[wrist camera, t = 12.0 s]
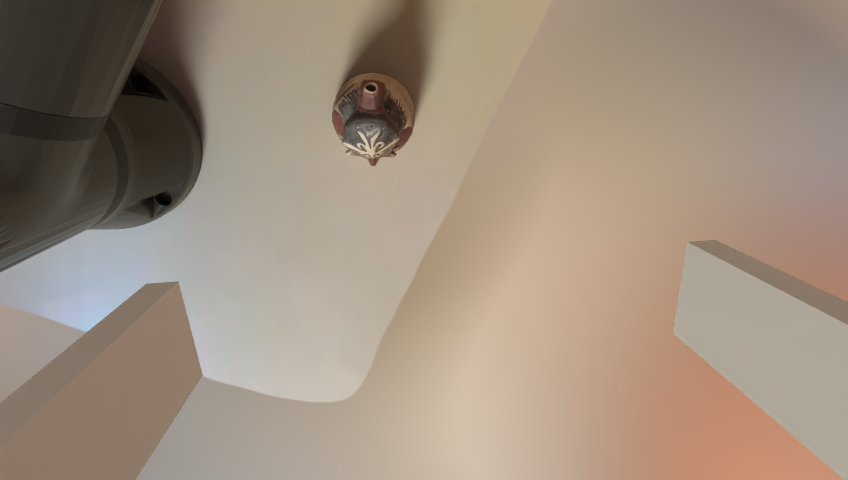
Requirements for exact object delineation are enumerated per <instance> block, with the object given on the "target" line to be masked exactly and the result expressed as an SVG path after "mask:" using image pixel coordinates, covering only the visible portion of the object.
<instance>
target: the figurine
mask: <svg viewBox="0 0 848 480" xmlns="http://www.w3.org/2000/svg"><path fill="white" fill-rule="evenodd" d="M414 119H415V111H414V105H413V102H412V99H411V97H410V95H409V93H408V92H407V90H406V89H405V87H404V86H403V85H401V84H400V83H399V82H398V81H397V80H396V79H394V78H391V77H389V76H387V75H384V74H378V73H366V74H360V75H358V76H356V77H354V78H351V79H349V80H348V81H347V82H346V83H345V84H344V85H343V86H342V88H341V89H340V91H339V92H338V94H337V96H336V99H335V102H334V104H333V113H332V121H333V125H334V128H335V131H336V133H337V135H338V136H339V138H340V139H341V140H342V144H343V146H344V147H346V148H348V149H349V150H347V151H346V154H347V155H349V156H360V157H364V158H366V159H367V160H368V161H369V163H370V165H372V166H375V165H376V164H377V162H378V160H379V159H380V158H382V157H390V158H392V157H395V156H396V155H397V154H396V153H395V151H397V150H399V149H401V148H402V147H403V146H404V144H405V143H406V142H407V141H408V139H409V137H410V136H411V134H412V130H413V127H414Z"/></svg>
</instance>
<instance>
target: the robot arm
mask: <svg viewBox="0 0 848 480" xmlns="http://www.w3.org/2000/svg"><path fill="white" fill-rule="evenodd" d="M162 2H163V0H0V272H2V271H4V270H6V269H8V268H10V267H12V266H14V265H16V264H18V263H20V262H22V261H24V260H26V259H28V258H31V257H33V256H35V255H37V254H39V253H41V252H43V251H45V250H47V249H49V248H51V247H53V246H55V245H57V244H59V243H61V242H63V241H65V240H67V239H69V238H71V237H73V236H75V235H77V234H79V233H81V232H83V231H85V230H87V229H125V228H132V227H136V226H140V225H144V224H147V223H149V222H152V221H154V220H156V219H158V218H159V217H161V216H163V215H165V214H166V213H168V212H170V211H171V210H173V209H174V208H176V207H177V206H178V205H179V204H180V203H181V202H182V201H183V200H184V199H185V198H186V197H187V196H188V194H189V193H190V192H191V190H192V188H193V187H194V184H195V182H196V180H197V177H198V174H199V171H200V166H201V154H202V151H201V140H200V135H199V131H198V127H197V124H196V121H195V119H194V117H193V114H192V112H191V110H190V108H189V107H188V105H187V103H186V102H185V100H184V99H183V97H182V96H181V94H180V93H179V92H178V91H177V89H176V88H175V87H174V86H173V85H172V84H171V83H170V82H169V81H168V80H167V79H166V78H165V77H164V76H163V75H162V74H161V73H159V72H158V71H157V70H155V69H154V68H153V67H151V66H150V65H148V64H147V63H145V62H143V61H141V60H140V59H138V58H137V57H138V54H139V52H140V50H141V48H142V46H143V43H144V41H145V39H146V37H147V35H148V32H149V30H150V28H151V26H152V24H153V21H154V19H155V17H156V15H157V13H158V11H159V8H160V6H161V4H162ZM673 333H674V334H675V335H676V336H677V337H678V338H680V339H681V340H682V341H683V342H684V343H685V344H687V345H688V346H689V347H690V348H691V349H692V350H694V351H695V352H696V353H697V354H698V355H699V356H701V357H702V358H703V359H704V360H705V361H706V362H708V363H709V364H710V365H711V366H712V367H713V368H715V369H716V370H717V371H718V372H719V373H720V374H721V375H723V376H724V377H725V378H726V379H727V380H729V381H730V382H731V383H732V384H733V385H734V386H735V387H737V388H738V389H739V390H740V391H741V392H742V393H744V394H745V395H746V396H747V397H748V398H749V399H751V400H752V401H753V402H754V403H755V404H756V405H758V406H759V407H760V408H761V409H762V410H763V411H765V412H766V413H767V414H768V415H769V416H770V417H772V418H773V419H774V420H775V421H776V422H777V423H779V424H780V425H781V426H782V427H783V428H784V429H785V430H787V431H788V432H789V433H790V434H792V436H794V437H795V438H796V439H797V440H798V441H800V442H801V443H802V444H803V445H804V446H805V447H807V448H808V449H809V450H810V451H811V452H813V454H815V455H816V456H817V457H818V458H819V459H820V460H822V461H823V462H824V463H825V464H826V465H828V466H829V467H830V468H831V469H832V470H833V471H834V472H836V473H837V474H838V475H839V476H840V477H841V478H843V479H844V480H848V302H847V301H845V300H843V299H840V298H838V297H836V296H834V295H832V294H830V293H828V292H825V291H823V290H821V289H819V288H817V287H815V286H813V285H810V284H808V283H806V282H804V281H802V280H800V279H797V278H795V277H793V276H791V275H789V274H787V273H785V272H783V271H780V270H778V269H776V268H774V267H772V266H770V265H767V264H765V263H763V262H761V261H759V260H757V259H755V258H752V257H750V256H748V255H746V254H744V253H742V252H740V251H737V250H735V249H733V248H731V247H729V246H727V245H725V244H722V243H720V242H718V241H716V240H710V241H696V242H688V243H687V248H686V254H685V260H684V266H683V273H682V279H681V285H680V292H679V298H678V304H677V311H676V317H675V323H674V329H673ZM201 377H202V371H201V367H200V363H199V359H198V355H197V351H196V348H195V344H194V340H193V336H192V332H191V328H190V325H189V321H188V317H187V313H186V309H185V305H184V302H183V298H182V294H181V290H180V286H179V282H165V283H152V284H146V285H144V286H143V287H142V288H141V289H140V290H138V291H137V292H136V293H135V294H133V295H132V296H131V297H130V298H129V299H127V300H126V301H125V302H124V303H122V304H121V305H120V306H119V307H117V308H116V309H115V310H114V311H113V312H111V313H110V314H109V315H108V316H106V317H105V318H104V319H103V320H102V321H100V322H99V323H98V324H97V325H95V326H94V327H93V328H92V329H91V330H89V331H88V332H87V333H86V334H85V335H83V336H82V337H81V338H80V339H78V340H77V341H76V342H75V343H73V344H72V345H71V346H70V347H68V348H67V349H66V350H65V351H64V352H62V353H61V354H60V355H59V356H57V357H56V358H55V359H54V360H53V361H51V362H50V363H49V364H48V365H46V366H45V367H44V368H43V369H42V370H41V371H39V372H38V373H37V374H35V375H34V376H33V377H32V378H31V379H29V380H28V381H27V382H26V383H24V384H23V385H22V386H21V387H20V388H18V389H17V390H16V391H15V392H13V393H12V394H11V395H10V396H8V397H7V398H6V399H5V400H4V401H2V402H1V403H0V480H135V479H136V478H137V476H138V475H139V473H140V472H141V470H142V468H143V467H144V465H145V464H146V462H147V461H148V459H149V458H150V456H151V454H152V453H153V451H154V450H155V448H156V447H157V445H158V444H159V442H160V440H161V438H162V437H163V436H164V434H165V433H166V431H167V429H168V428H169V426H170V425H171V423H172V422H173V420H174V419H175V417H176V416H177V414H178V412H179V411H180V409H181V408H182V406H183V405H184V403H185V401H186V400H187V398H188V397H189V395H190V394H191V392H192V391H193V389H194V387H195V386H196V384H197V383H198V381H199V380H200V378H201Z"/></svg>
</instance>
